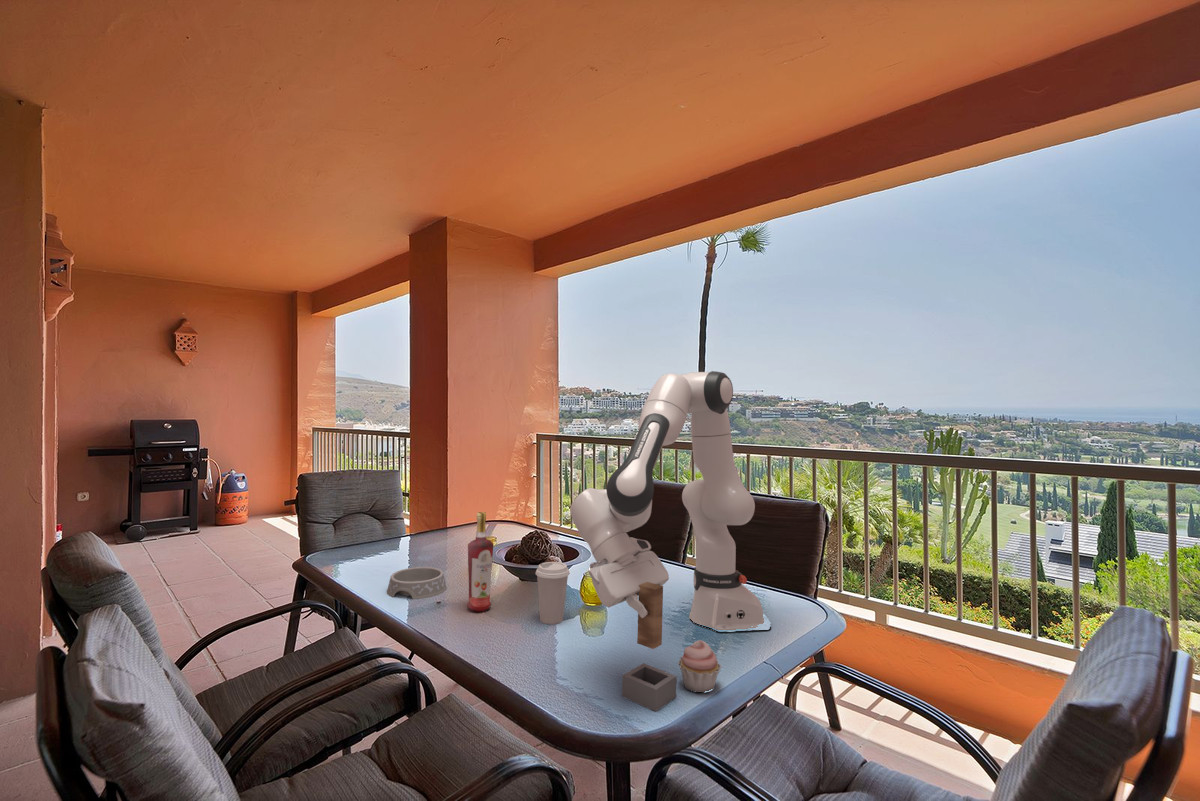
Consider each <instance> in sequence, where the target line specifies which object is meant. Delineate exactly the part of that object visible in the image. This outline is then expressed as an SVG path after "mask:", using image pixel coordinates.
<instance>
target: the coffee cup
mask: <svg viewBox="0 0 1200 801" xmlns="http://www.w3.org/2000/svg"><path fill="white" fill-rule="evenodd" d="M569 575H571V572H570V569H569V568H568V565H567V564H566V563H564V562H560V561H559V562H558V561H547V562H541V563H540V564H538V567H537V568H536V571H535V576H537V577H536V578H537V579H536V580H537V594H538V608H539V609H538V610H539V622H541V623H542V624H545V625H556V624H560V623H562V622H563V621H564V616H565V615H564V614H565V607H566V606H565V604H566V596H567V587H568V578H569Z"/></svg>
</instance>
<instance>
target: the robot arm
mask: <svg viewBox="0 0 1200 801" xmlns="http://www.w3.org/2000/svg"><path fill="white" fill-rule="evenodd" d="M733 395H734V387H733V383H732V380H731V378H730V377H729V376H728V375H727V374H726V373H724V372H722V371H713V370H711V371H695V372H688V373H684V374H683V373H681V374H678V373H674V372H669V373H665V374H663V375H662V376H660V377H659V378H658V379H657V380H656V382H655V383H654V385H653V387H652V389H651V390H650V392H649V393H648V396H647V397H646V400H645V402H644V405H643V407H642V409H641V414H640V416H639V421H638V427H637V430H638V431H637V434H636V437H635V438H634V441H633V443H632V446H631V448H630V451H629V453H628V455H627V457H626V459H625V460H624V461H623V463H622V464H621V465H620V466H619V467H618V468H617V469H616V470H615V471H614V472H613V473H612V474H611V475H610V476H609V479H608V480H607V483H606V489H605V488H603V489H602V488H601V489H599V488H593V487H588V488H586V489H584V490H582V491H581V492H580V493H578V495H577V496H576V497H575V498H574V499H573V501H572V502H571V505H570V510H569V512H570V516H571V519H572V522H573V524H574V525H575V527H576V529H577V531H578V533H579V534H580V536H581V538H582V540H584V542H586V544H588V546H589V548H590V552H591V554H592V556H593V558H594V560H595V562H592V563H590V564H589V567H588V575H589V576H590V578H591V581H592V582H591V583H592V585H593V588H594V590H595V592H596V594H597V597H598V598H599V600H600V602H601V604H602V605H603V606H605V607H607V608H611V607H614V606H616V605H618V604H621V603H624V602H626V604H627V605H628V607H630V608H632V609H633V610H634V611H636V612H637V615H638V614H639V615H640V617H641V618H644V617H646V616H647V615H649V614H650V610H649V609H648V607H647V605H643V604H642V603H641V602H640V601H639V600H638V599H639V591H640V587H639V585H640V584H643V583H645V582H650V583H654V584H657V585H661V586H664V584H666V583H667V582H668V581H669V579H670V577H669V573H668V570H667V569H666V567H665V565H664V564H663V562H662V561H661V559H660V558H659V556H658V555H657V554H656V553H655V552H654V551H652V550H651V549H652V545H651V544H650V542H649V541H648V540H645V539H640V538H635V537H631V536H629V535H628V533H630V532H632V531H634V530H637V529H639V528H641V527H643V526H644V525H645V524H647V522H648V521H649V519H650V517H651V514H652V507H653V497H654V492H655V485H654V478H653V476H654V475H653V473H654V472H653V471H654V469H655V467H656V463H657V461H658V459H659V456H660V454H661V451H662V448H663V447H664V446H669V445H672V444H674V443H675V442H676V441H677V439H678V438H679V436H680V434H681V432H682V430H683V428H684V425H685V422H686V420H687V417H688V415H689V414H691V416H690V433H691V445H692V446H691V447H692V456H693V457H692V458H693V462H694V464H695V467H696V468H697V469H698V470H699V472H700V474H701V476H702V478H703V479H696V480H691V481H690V482H688V483H687V484H686V485H685V486H684V488H683V490H682V494H681V500H682V503H683V506H684V508H685V509H686V510H687V512H688V514H689V518H690V521H691V524H692V529H693V533H694V538H695V539H694V540H695V567H694V570H693V588H694V592H693V599H692V605H691V609H690V613H689V615H688V618H689V620H690V619H691V620H692V621H693V622H692V621H691V620H690V621H691V622H692V623H694V622H695V623H697V624H700V625H704V626H708V627H711V628H714V629H716V630H736V629H748V628H756V627H758V626H757V625H759V624H763V623H764V618H763V613H764V611H763V610H764V609H763V606H762V604H761V601H760V599H759V598H758V597H757V595H755V594H754V593H753V592H752V591H751V590H749V589H748V588H747V587H746V586H745V584H746V583H747V582H748V580H747V579H748V578H747V577H746V575H743V574H742V573H741V572H739V570H736V558H737V557H736V556H737V555H736V552H737V551H736V549H737V547H736V546H737V545H736V541H735V540H734V539H733V536H732V535H731V534H730V531H729V529H728V526H743V525H746V524H747V523H749V522H750V521H751V520H752V518H753V517H754V514H755V510H756V509H755V508H756V504H755V499H754V497H753V496H752V494H751V493H750V492H749V491H748V490H747V489H746V487H745V486H744V483H743V481H742V479H741V477H740V474H739V472H738V470H737V469H738V468H737V467H736V463H735V459H734V453H733V444H732V431H731V430H732V429H731V423H730V422H731V421H730V417H729V413H728V409H729V406H730V404H731V403H732V401H733V398H734V396H733ZM695 623H694V624H695ZM697 624H696V625H697ZM700 625H699V626H700ZM751 626H753V627H751Z"/></svg>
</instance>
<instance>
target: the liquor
mask: <svg viewBox="0 0 1200 801" xmlns="http://www.w3.org/2000/svg"><path fill="white" fill-rule="evenodd" d="M486 520H487V512H484V511H480V512H479V511H478V512H477V513H476V523H477V524H476V525H477V526H476V532H475V533H476V534H475V538H474V539H473V540H471V541H470V542H469V543H467V565H468V566H467V567H468V568H467V570H468V602H467V608H468V609H469V610H470V611H471V612H474V611H475V613H482V612H485V611H487V610H488V609H489V608H490V607H491V605H492V603H491V598H490V597H491V584H492V583H491V580H492V569H493V559H494V558H493V557H494V543H493V542H492V541H491V540H489V539H487V531H486V530H487V529H486ZM481 611H482V612H481Z"/></svg>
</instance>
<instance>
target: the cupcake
mask: <svg viewBox="0 0 1200 801" xmlns="http://www.w3.org/2000/svg"><path fill="white" fill-rule="evenodd" d="M679 659H680V660H678V661H677V664H678V666H679V668H680V671H681V674H682V676H681V677H682V680H683V685H684V687H685V689H687V690H688V689H689V690H688V691H690V690H692V691H696V692H705V691H709V690H711V689H713V688H714V689H715V686H716V681H717V678H718V674H720V671H721V669H722V665H721V664H720V663H719V660H718V658H717V656H716V654H715V653H714V651H713V650H712V648H711V647H710V645H709V644H708V643H707V642H705V641H704V640H701V639H699V640H696V641H695V642H694V643H692V644H691V645H689V646H686V647H685V648H684V650H683V655H682V656H680V657H679ZM714 689H713V690H714ZM692 691H691V692H692Z"/></svg>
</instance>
